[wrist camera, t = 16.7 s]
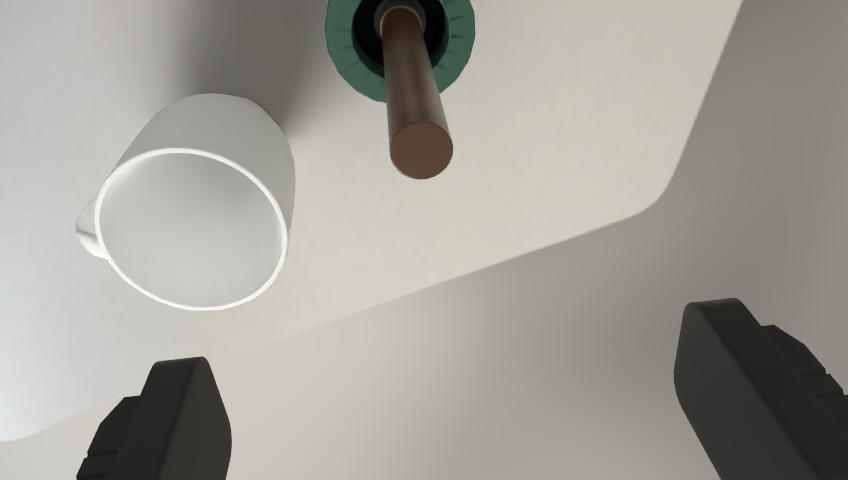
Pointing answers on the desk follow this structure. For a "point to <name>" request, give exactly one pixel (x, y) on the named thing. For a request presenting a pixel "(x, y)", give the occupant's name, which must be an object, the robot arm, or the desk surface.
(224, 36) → the desk surface
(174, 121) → the mug
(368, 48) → the green tube
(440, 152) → the brown cylindrical rod
